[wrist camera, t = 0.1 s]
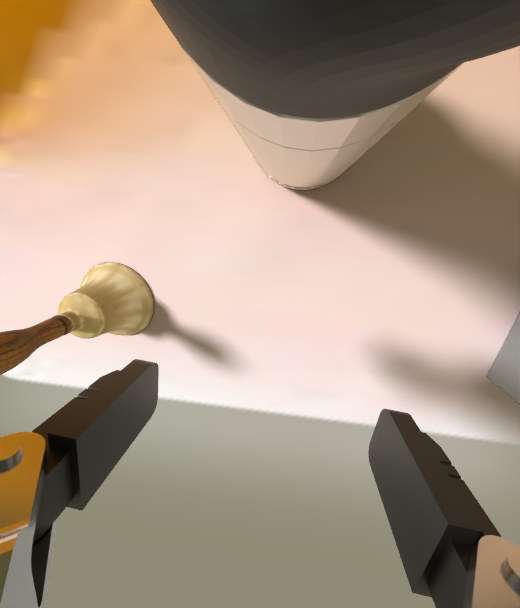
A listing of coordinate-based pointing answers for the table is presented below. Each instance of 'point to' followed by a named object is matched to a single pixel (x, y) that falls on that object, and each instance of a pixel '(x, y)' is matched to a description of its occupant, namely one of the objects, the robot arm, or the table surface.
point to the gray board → (508, 364)
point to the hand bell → (87, 313)
